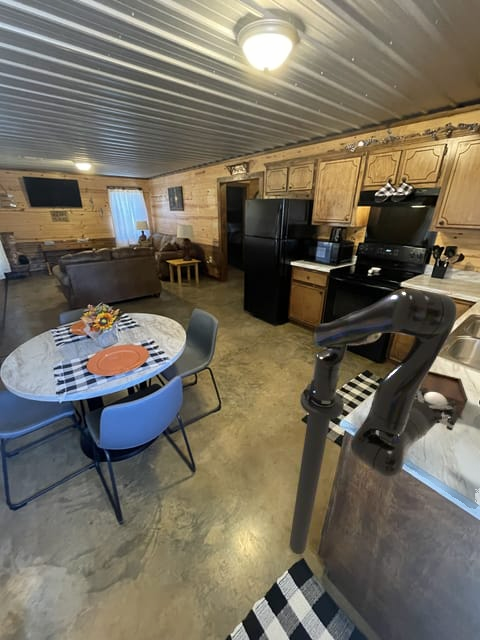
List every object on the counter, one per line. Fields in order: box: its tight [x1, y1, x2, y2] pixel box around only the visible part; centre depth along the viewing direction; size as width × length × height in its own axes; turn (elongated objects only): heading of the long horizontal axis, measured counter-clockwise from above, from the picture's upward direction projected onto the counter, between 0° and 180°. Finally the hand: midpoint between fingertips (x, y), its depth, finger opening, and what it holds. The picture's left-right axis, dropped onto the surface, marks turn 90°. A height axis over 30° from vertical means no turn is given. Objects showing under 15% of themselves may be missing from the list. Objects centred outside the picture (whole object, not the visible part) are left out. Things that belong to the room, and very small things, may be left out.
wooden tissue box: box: [419, 370, 469, 419], centre depth 100 cm, size 16×14×8 cm
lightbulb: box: [423, 392, 448, 406], centre depth 75 cm, size 6×6×11 cm
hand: (438, 396), depth 75 cm, fingers closed on lightbulb, 6 cm apart
